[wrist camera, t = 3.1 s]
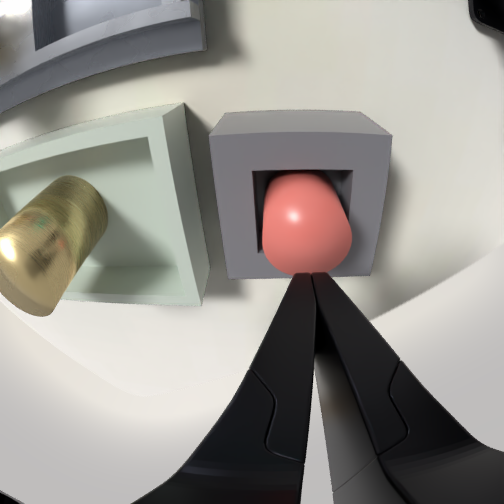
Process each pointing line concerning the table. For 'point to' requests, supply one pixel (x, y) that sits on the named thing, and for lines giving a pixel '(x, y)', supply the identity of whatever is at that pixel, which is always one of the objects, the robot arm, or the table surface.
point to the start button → (304, 223)
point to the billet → (50, 243)
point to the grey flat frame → (88, 40)
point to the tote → (124, 203)
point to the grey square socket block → (294, 158)
